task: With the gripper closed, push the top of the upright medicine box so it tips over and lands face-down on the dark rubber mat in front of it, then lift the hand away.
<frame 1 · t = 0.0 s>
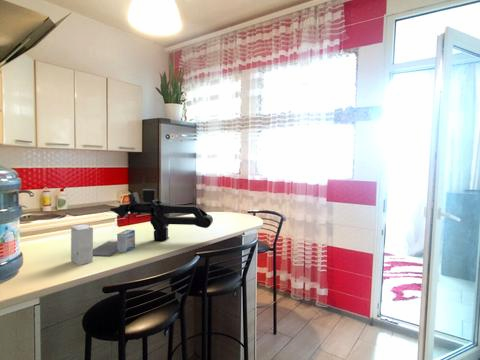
hand: (115, 207, 153), 17 cm above the countertop, tool horizontal, fingers open, 9 cm apart
mat: (109, 248, 135), on the countertop
skincare box: (82, 261, 119), on the countertop
medicine box: (126, 250, 135), on the countertop
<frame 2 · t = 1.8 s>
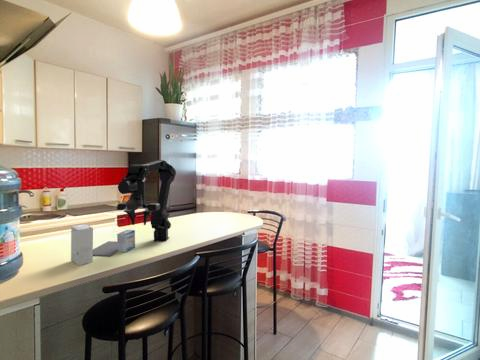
hand: (139, 224, 133), 12 cm above the countertop, tool pointing down, fingers open, 5 cm apart
nothing on the countertop moved.
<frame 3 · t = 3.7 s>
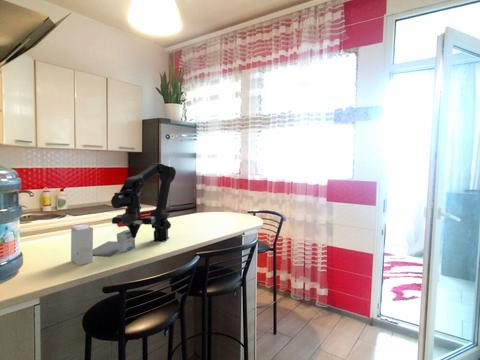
hand: (134, 238, 134), 6 cm above the countertop, tool pointing down, fingers closed
medicine box: (126, 249, 135), on the countertop, touching gripper
everything else where it was.
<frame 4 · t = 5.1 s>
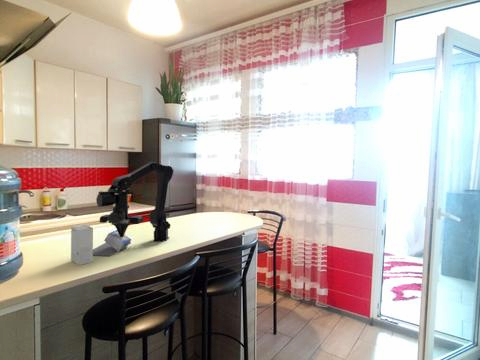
hand: (121, 237, 135), 6 cm above the countertop, tool pointing down, fingers closed
medicine box: (125, 245, 135), point 2 cm above the countertop, touching gripper, mat
everything else where it was.
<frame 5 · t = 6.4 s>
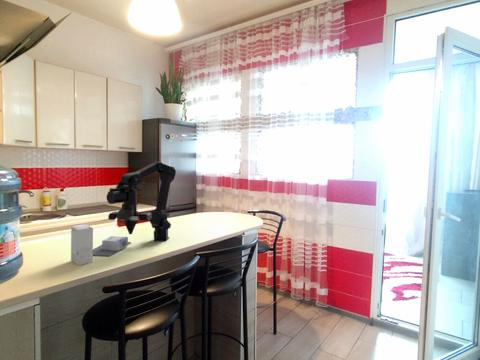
hand: (130, 234, 134), 7 cm above the countertop, tool pointing down, fingers closed
medicine box: (124, 243, 135), point 3 cm above the countertop, touching mat
everything else where it was.
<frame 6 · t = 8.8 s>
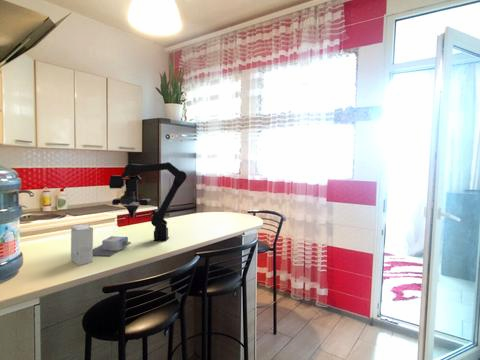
hand: (132, 218, 148), 12 cm above the countertop, tool pointing down, fingers closed
nothing on the countertop moved.
at the end: medicine box tilted 89°; medicine box touching mat; the gripper is holding nothing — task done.
